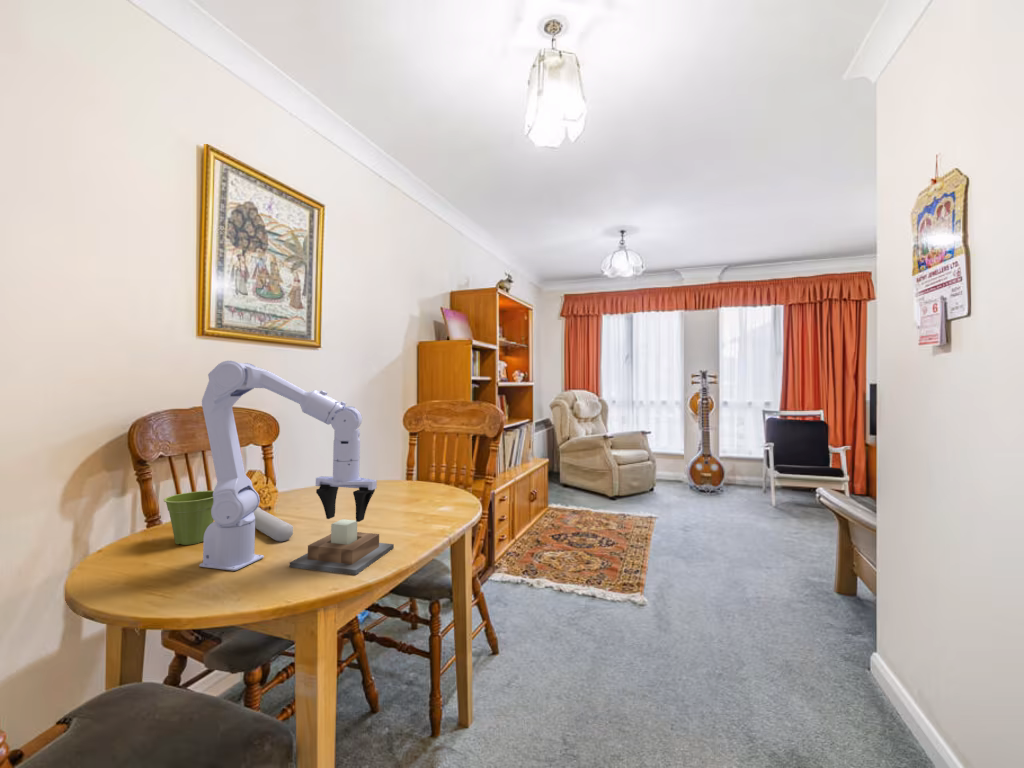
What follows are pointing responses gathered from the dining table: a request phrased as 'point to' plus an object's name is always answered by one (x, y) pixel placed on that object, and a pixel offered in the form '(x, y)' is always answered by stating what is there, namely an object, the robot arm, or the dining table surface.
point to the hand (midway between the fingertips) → (345, 519)
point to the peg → (344, 532)
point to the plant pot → (190, 515)
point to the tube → (272, 526)
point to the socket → (343, 554)
